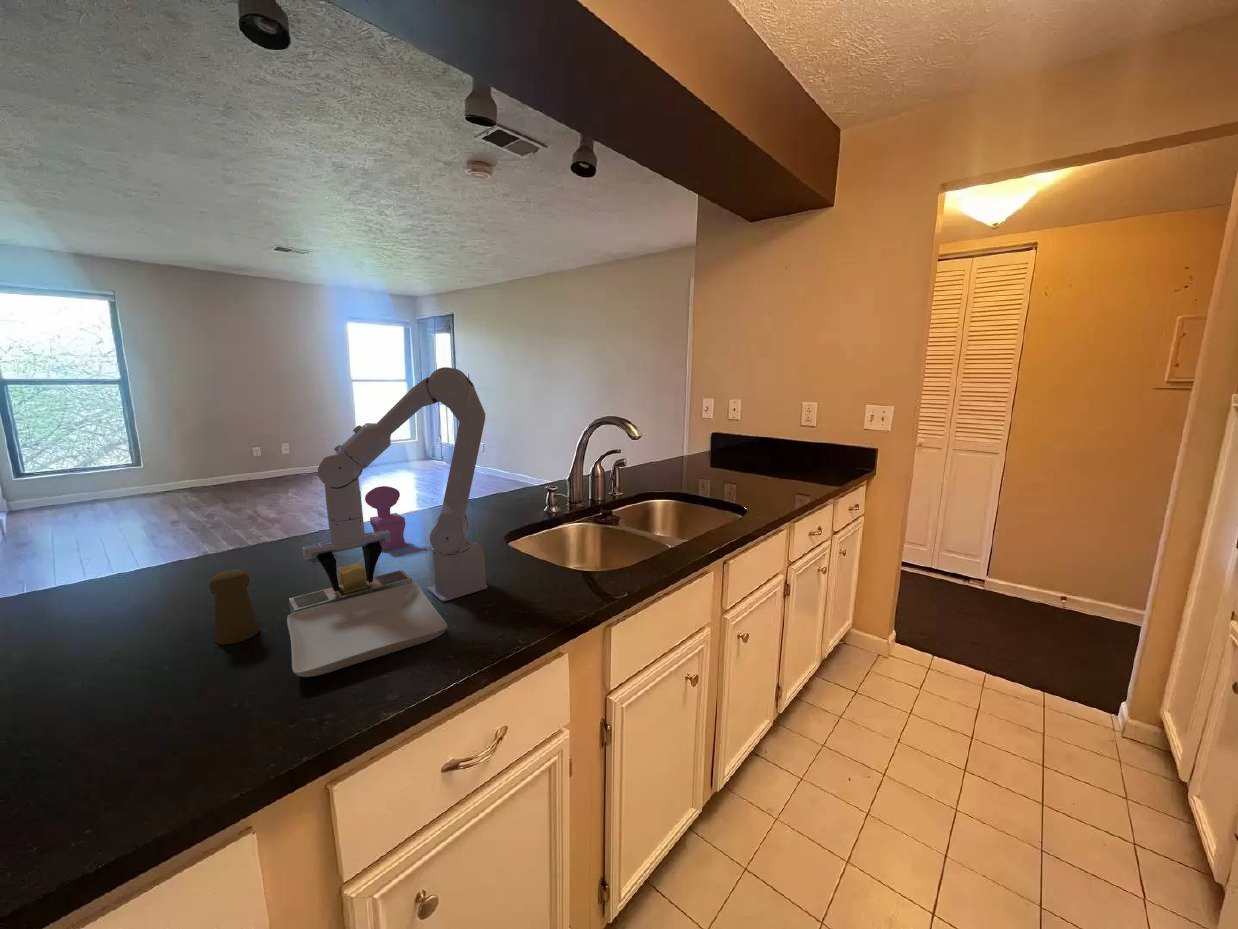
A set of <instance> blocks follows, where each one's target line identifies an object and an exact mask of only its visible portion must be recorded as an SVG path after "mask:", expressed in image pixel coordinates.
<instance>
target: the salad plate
mask: <svg viewBox="0 0 1238 929" xmlns="http://www.w3.org/2000/svg"><path fill="white" fill-rule="evenodd" d="M286 625H287V628H288V633H289V637H290V647H291V648H290V649H291V650H290V651H291V669H292V670H291V671H292V672H293V673H294V674H295V676H298V677H303V678H310V677H316V676H321V675H326V674H328V673H333V672H334V671H335V672H336V671H338V670H341V669H344V668H346V667H350V666H354V665H356V664H360V663H363V662H365V661H366V662H367V661H369V660H370V661H371V660H374V659H377V658H380V657H383V656H386V655H389V654H391V653H395V652H399V651H401V650H405V649H408V648H410V647H413V646H418V645H421V644H423V643H424V644H425V643H427V642H429V641H433V640H434V639H436V638H438V637H440V636H441V635H442V634H444V633H445V632H446V631H447V629H448V623H447V622H446V620H444V618H443V616H442V615H441V614H440V613H439V612H438V610H437V609H436V608H435V607H434V606H433V604H432V602H431V601H430V600H429V598H428V597H427V596H426V594H425V592H424V591H423V589H422V588H421V586H420V585H419V584H418V583H416V582H412V584H408V585H404V586H399V587H395V588H391V589H387V590H383V591H378V592H374V593H370V594H366V595H362V596H358V597H354V598H350V599H346V600H342V601H338V602H334V603H330V604H326V605H322V606H318V607H314V608H310V609H306V610H303V611H298V612H295V613H291V612H290V614H288V615H287V617H286Z"/></svg>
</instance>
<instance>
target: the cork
mask: <svg viewBox="0 0 1238 929" xmlns="http://www.w3.org/2000/svg"><path fill="white" fill-rule="evenodd" d="M250 580H251V579H250V576H249V573H247V572H246V570H242V569H230V570H225V571H222V572H219V573H216V574H215V575H213V576H212V577H211V578H210V580H209V582H208V587H209V591H210V593H211V594H212V595H213V596H214V599H215V600H214V643H216V644H217V645H230V644H236V643H240V642H243V641H247V640H249V639H250V638H253V637H254V636H256V635H257V634H258V633H259V632H260V631H261V628H260V625H259V621H258V619H257V616H256V613H255V610H254V607H253V604H252V601H251V598H250V595H249V592H248V589H247V588H248V587H249V586H250V583H251V582H250Z"/></svg>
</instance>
